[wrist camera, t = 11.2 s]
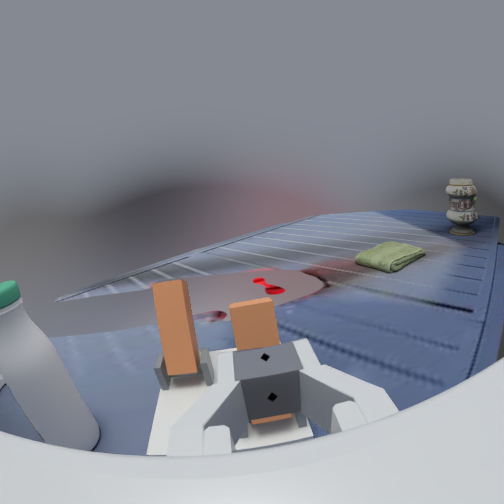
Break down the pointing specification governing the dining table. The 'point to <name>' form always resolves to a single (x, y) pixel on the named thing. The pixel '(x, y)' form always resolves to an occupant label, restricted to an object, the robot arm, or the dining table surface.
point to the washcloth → (389, 256)
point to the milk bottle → (41, 378)
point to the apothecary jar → (461, 205)
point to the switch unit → (192, 388)
